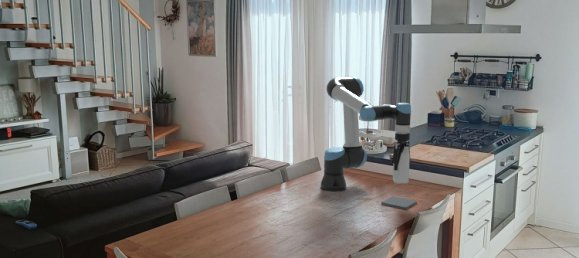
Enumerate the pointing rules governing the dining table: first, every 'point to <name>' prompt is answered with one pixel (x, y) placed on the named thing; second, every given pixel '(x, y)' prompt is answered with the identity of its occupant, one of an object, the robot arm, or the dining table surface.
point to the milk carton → (403, 167)
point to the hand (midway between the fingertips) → (400, 174)
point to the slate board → (399, 202)
